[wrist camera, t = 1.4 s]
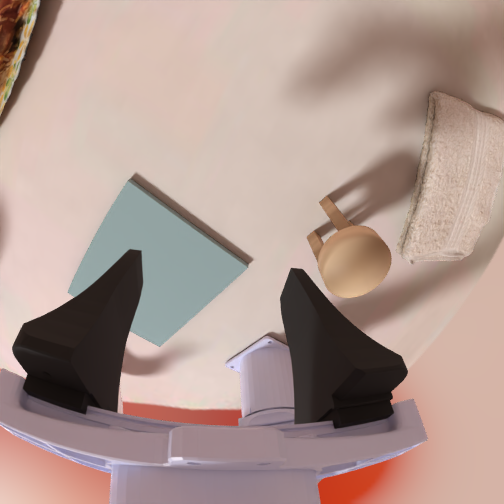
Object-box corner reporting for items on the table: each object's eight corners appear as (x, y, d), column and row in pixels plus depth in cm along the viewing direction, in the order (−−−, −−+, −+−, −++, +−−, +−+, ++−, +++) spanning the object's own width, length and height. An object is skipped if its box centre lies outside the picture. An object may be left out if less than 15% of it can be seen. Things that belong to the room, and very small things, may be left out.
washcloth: (390, 254, 27) (403, 272, 25) (422, 85, 17) (444, 88, 15) (459, 251, 28) (473, 265, 25) (494, 116, 18) (513, 123, 15)
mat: (247, 263, 26) (248, 267, 25) (160, 343, 32) (159, 346, 31) (130, 178, 20) (127, 180, 20) (69, 288, 26) (67, 292, 26)
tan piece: (366, 220, 24) (401, 265, 18) (325, 256, 26) (349, 307, 20) (333, 183, 22) (368, 222, 16) (289, 224, 24) (308, 274, 18)
